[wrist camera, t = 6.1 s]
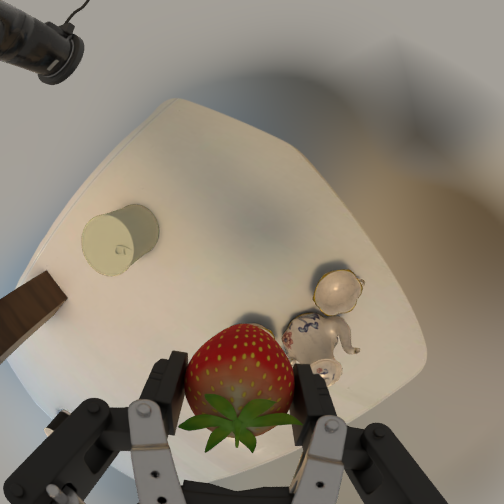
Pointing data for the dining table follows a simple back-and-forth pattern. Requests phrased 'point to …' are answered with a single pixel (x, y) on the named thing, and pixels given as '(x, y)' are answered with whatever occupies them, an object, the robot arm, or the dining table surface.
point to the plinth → (27, 311)
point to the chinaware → (324, 326)
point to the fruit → (239, 386)
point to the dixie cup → (56, 422)
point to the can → (119, 239)
